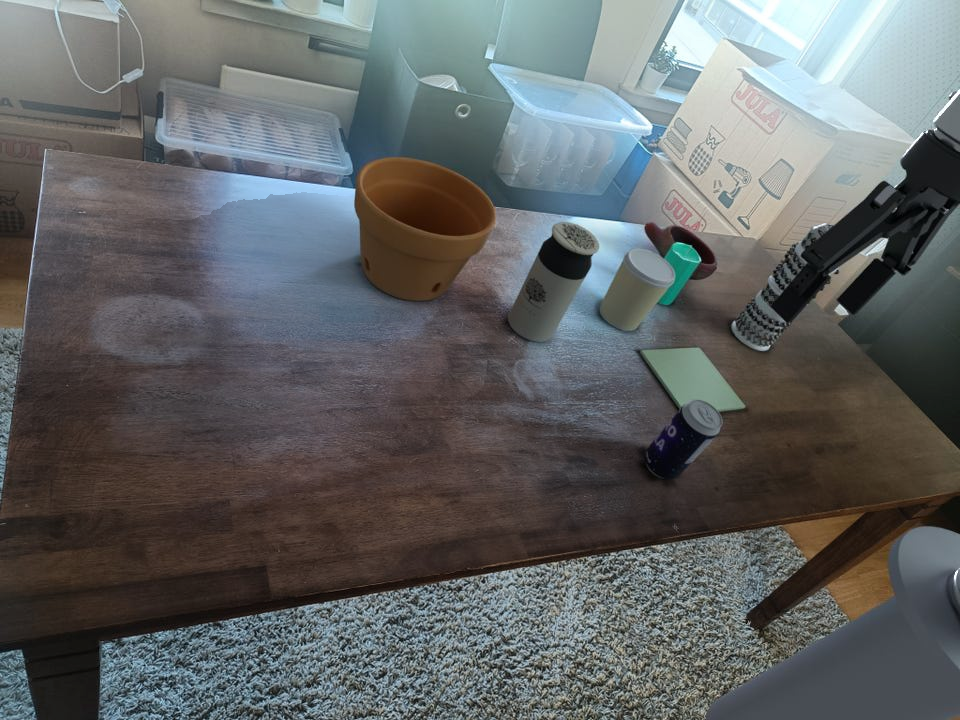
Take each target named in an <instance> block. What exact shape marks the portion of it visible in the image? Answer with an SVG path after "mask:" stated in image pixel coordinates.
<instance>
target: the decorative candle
mask: <svg viewBox="0 0 960 720" xmlns="http://www.w3.org/2000/svg"><path fill="white" fill-rule="evenodd" d="M833 226H834V225H833V224H830V223H822V224H820V225H811V227H810V230H809V232H808V233H807V234H806V235H805V236H804V238H802V239H801V240H800V241H799V242H796V243H792V244H791V247H789V250H787V251H786V253H785V254H784V255H783V257H784V259H781V260H780V261H779V263H778V264H777V266H776V267H775V269H773V271H772V273H773V274H772V275H770V276H769V277H768V279H767V283H766V284H765V286H764V287H763V288H762V289H760V290H759V292H758V293H757V294H756V295H754V296H752V298H751V299H750V302H748V303H747V304H746V305H745V308H743V309H742V310H741V311H740V312H739V314H737V316H736V318H735V319H734V320H733V321H732V323H731V325H730V327H731V331H732V333H733V334H734V336H735V338H737V339H738V340H739V341H740V342H741V343H742V344H744V345H746V346H747V347H749V348H751V349H753V350H755V351H760V352H761V351H762V352H765V351H768V350H769V349H770V348H771V346H773V345H774V343H776V340H779V337H781V335H782V334H781V333H785V331H787V328H788V327H790V326H791V325H792V323H793V321H792V322H791V323H786V322H785V321H784V320H783V319H782V318H781V317H780V316H779V315H778V314H777V313H776V312H775V311H774V310H773V309H772V308H771V307H770V306H771V305H772V304H773V303H774V302H775V301H776V299H777V298H778V297H779V296H780V295H781V293H782V292H783V291H784V290H785V289H786V288H787V286H788V285H789V284H790V283H791V282H792V280H793V279H794V278H795V277H796V276H797V275H798V273H799V272H800V271H801V270H802V269H803V267H804V266H805V265H806V264H807V262H806V261H805V260H804V259H803V258H802V257H801V253H802V252H803V251H804V250H806V249H807V248H808V247H809V246H810V245H811V244H813V243H814V242H815V241H816V240H817V239H818V238H820V237H821V236H822V235H823V234H824V233H826V232H827V231H828V230H829V229H830V228H831V227H833ZM822 258H823V257H822ZM839 268H840V267H838V268H837V269H835V270H834V271H833V272H831V273H830V274H828V275H829V276H831V275H832V274H833V275H839V274H840V270H839ZM831 281H832V278H831V279H830V280H829V281H828V282H827V283H826V284H825V285H824V286H823V288H822V289H821V290H820V291H819V292H821V291H822V292H824V290H825V288H826V287H825V286H826V285H830V284H831ZM817 295H818V293H817V294H816V295H815V297H814V298H813V299H812V300H815V299H816V298H817ZM812 300H811V301H812ZM811 301H810V302H809V303H808V304H807V305H806V306H808V305H810V304H811Z"/></svg>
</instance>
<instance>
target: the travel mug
mask: <svg viewBox="0 0 960 720" xmlns="http://www.w3.org/2000/svg"><path fill="white" fill-rule="evenodd" d="M600 246H601V245H600V243H599V240H598V238H597V237H596V236H595V234H593V233H592V232H590V230H589V229H587V228H585V227H583V226H581V225H579V224H577V223H573V222H569V221H559V222H556V223H554V224H553V225H552V227H551V236H549V237H548V238H547V239H545V240H544V241H543V242H542V245H541V246H540V248H539V251H538V252H537V254H536V257H535V259H534V261H533V263H532V265H531V267H530V269H529V272H528V273H527V275H526V277H525V280H524V282H523V284H522V286H521V288H520V290H519V292H518V294H517V296H516V298H515V300H514V302H513V305H512V307H511V309H510V311H509V313H508V316H507V320H508V323H509V325H510V328H512V329H513V331H514V332H515V333H517V334H518V335H519V336H521V337H522V338H524V339H526V340H528V341H532V342H537V343H541V342H542V343H543V342H548V341H549V340H551V339H552V338H553V336H554V334H555V333H556V330H557V329H558V328H559V325H560V324H561V322H562V320H563V318H564V316H565V315H566V313H567V311H568V309H569V308H570V306H571V304H572V302H573V301H574V299H575V297H576V296H577V294H578V291H579V290H580V288H581V286H582V284H583V282H584V281H585V279H586V277H587V275H588V274H589V272H590V270H591V268H592V266H593V265H592V264H593V260H592V257H593V256H594V255H595V254H596V253H598V252H599V250H600V248H601V247H600Z"/></svg>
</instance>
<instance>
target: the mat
mask: <svg viewBox="0 0 960 720" xmlns="http://www.w3.org/2000/svg"><path fill="white" fill-rule="evenodd" d="M639 354H640V355H641V357H642V359H644V361H645V362H646V363H647V365H648V367H649V368H650V369H651V371H652V372H653V374H654V375H655V376H656V378H657V379H658V381H659V382H660V383H661V385H662V387H663V388H664V389H665V391H666V392H667V394H668V396H670V398H671V399H672V401H673V402H674V404H675V405H676V407H677V408H678V409H679V410H680V408H681V407H682V406H683V405H684V404H687V403H689V402H690V401H692V400H695V399H699V400H703V401H706V402H708V403H709V404H711V405H712V406H713V407H715V408H716V409H717V411H718V412H719V413H720V412H728V411H737V410H738V411H739V410H743V409H745V408H746V405H745V404H744V403H743V401H742V400H741V398H740V397H739V396H738V394H737V393H736V392H735V391H734V389H733V388H732V387H731V386H730V384H729V383H728V382H727V381H726V380H725V378H724V377H723V375H722V374H721V373H720V372H719V371H718V369H717V368H716V367H715V366H714V364H713V363H712V361H711V360H710V359H709V358H708V356H707V355H706V354H705V353H704V351H703V350H702V349H701V348H700V347H680V348H661V349H660V348H659V349H658V348H657V349H641V350H640V351H639Z"/></svg>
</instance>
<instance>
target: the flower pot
mask: <svg viewBox="0 0 960 720" xmlns="http://www.w3.org/2000/svg"><path fill="white" fill-rule="evenodd" d="M353 201H354V203H353V204H354V212H355V215H356V217H357V219H358V223H359V224H358V225H359V226H358V227H359V251H360V264H361V269H362V271H363V274H364V275H365V277H366V278H367V280H368V281H369V282H370V283H371V284H372V285H374V287H376V288H377V289H379V290H381V291H382V292H383V293H386V294H387V295H389V296H392V297H395V298H397V299H401V300H404V301H405V300H406V301H411V302H425V301H426V302H427V301H430V300H435V299H437V298H439V297H441V296H443V294H445V293H446V292H447V291H448V289H449V288H450V286H452V284H453V282H454V281H456V278H457V277H458V276H459V274H460V273H461V272H462V270H463V269H464V267H465V266H466V265H467V263H468V262H469V261H470V259H471V258H472V257H473V256H475V255H477V254H478V253H479V252H480V251H481V250H482V249H483V248H484V246H485V245H486V243H487V241H488V239H489V237H490V235H491V233H492V231H493V229H494V227H495V224H496V221H497V211H496V207H495V206H494V204H493V202H492V200H491V199H490V197H489V196H488V195H487V193H486V192H485V191H484V190H483V189H481V188H480V187H479V186H478V185H477V184H475V183H474V182H473V181H471V180H470V179H468V178H466V177H465V176H463V175H461V174H460V173H458V172H456V171H454V170H452V169H449V168H447V167H445V166H443V165H439V164H436V163H434V162H431V161H426V160H423V159H417V158H411V157H403V156H391V157H390V156H389V157H388V156H387V157H382V158H378V159H374V160H371V161H369V162H367V163H366V164H364V165H363V166H362V167H361V168H360V170H359V171H358V173H357V175H356V181H355V189H354V200H353Z"/></svg>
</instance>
